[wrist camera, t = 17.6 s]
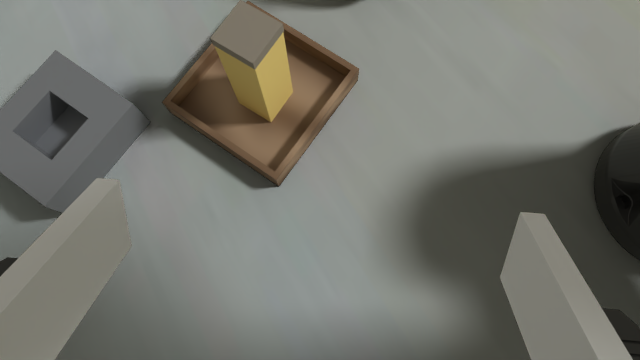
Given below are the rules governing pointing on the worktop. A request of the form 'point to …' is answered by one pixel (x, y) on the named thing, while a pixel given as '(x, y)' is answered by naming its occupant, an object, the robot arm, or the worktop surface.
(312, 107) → the tray
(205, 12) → the worktop surface
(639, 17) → the worktop surface
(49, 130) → the grey block with hole
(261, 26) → the plug
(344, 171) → the worktop surface
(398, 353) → the worktop surface
